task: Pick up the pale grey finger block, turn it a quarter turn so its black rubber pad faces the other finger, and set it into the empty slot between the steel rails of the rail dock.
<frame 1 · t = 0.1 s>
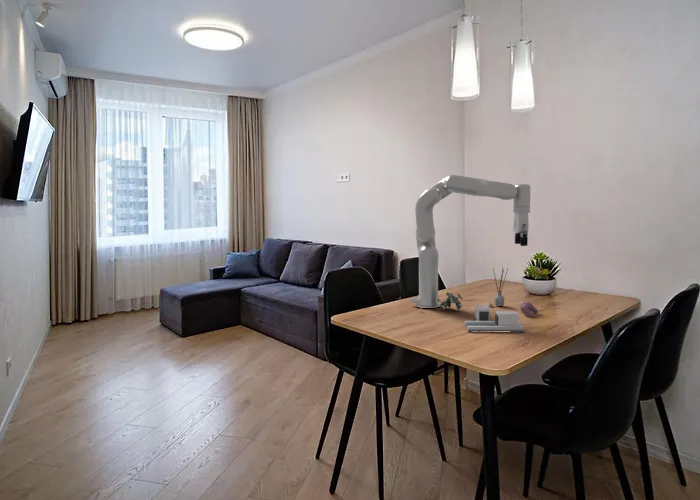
hand: (520, 244, 220), 31 cm above the table, tool pointing down, fingers open, 9 cm apart
reed diffuser: (499, 307, 224), on the table
rail dock: (493, 328, 187), on the table
video game controller: (528, 315, 208), on the table
finger block: (482, 320, 201), on the table
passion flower: (450, 311, 218), on the table
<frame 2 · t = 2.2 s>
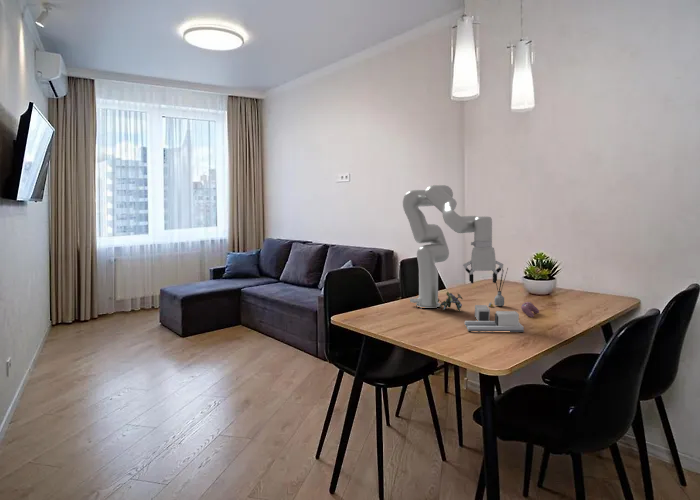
hand: (483, 282, 199), 17 cm above the table, tool pointing down, fingers open, 9 cm apart
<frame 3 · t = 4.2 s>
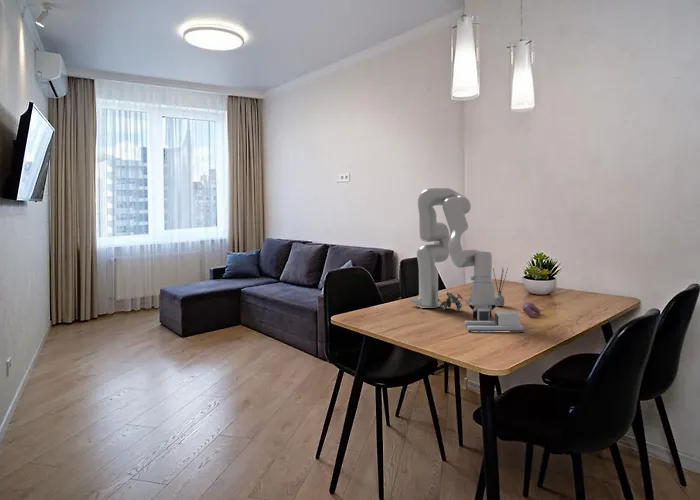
hand: (482, 318, 201), 0 cm above the table, tool pointing down, fingers closed on finger block, 5 cm apart
finger block: (482, 320, 201), on the table, touching gripper
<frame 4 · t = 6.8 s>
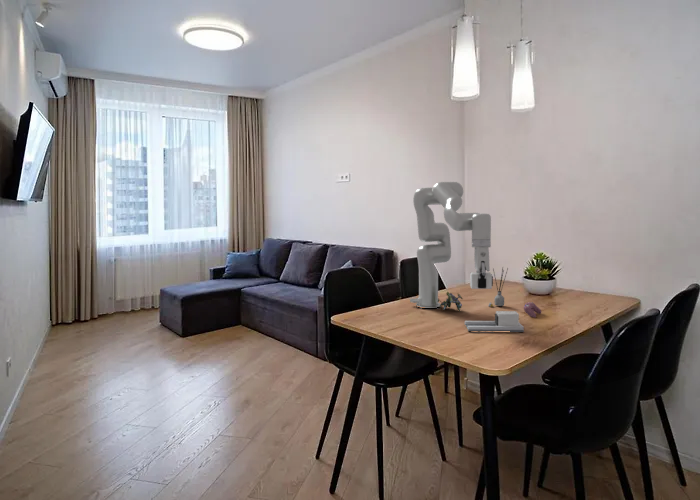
hand: (480, 286, 187), 18 cm above the table, tool pointing down, fingers closed on finger block, 5 cm apart
finger block: (480, 287, 187), point 17 cm above the table, touching gripper
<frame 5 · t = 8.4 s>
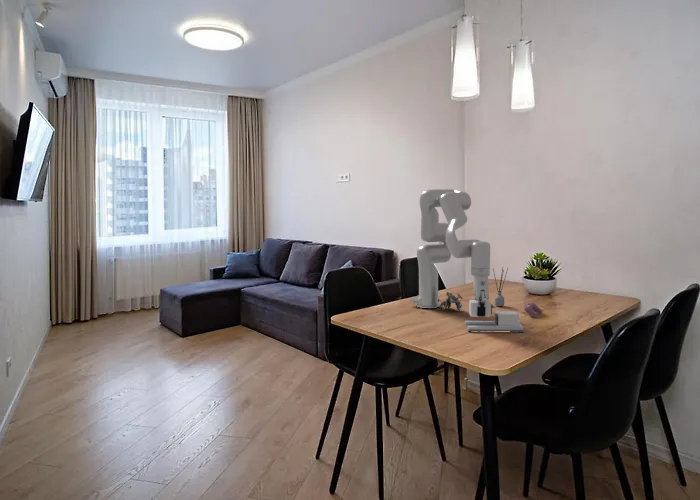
hand: (480, 314, 187), 6 cm above the table, tool pointing down, fingers closed on finger block, 5 cm apart
finger block: (479, 315, 187), point 6 cm above the table, touching gripper
when the fingers open (3 cm above the table, at t = 9.4 s): finger block drops 2 cm, resting on rail dock.
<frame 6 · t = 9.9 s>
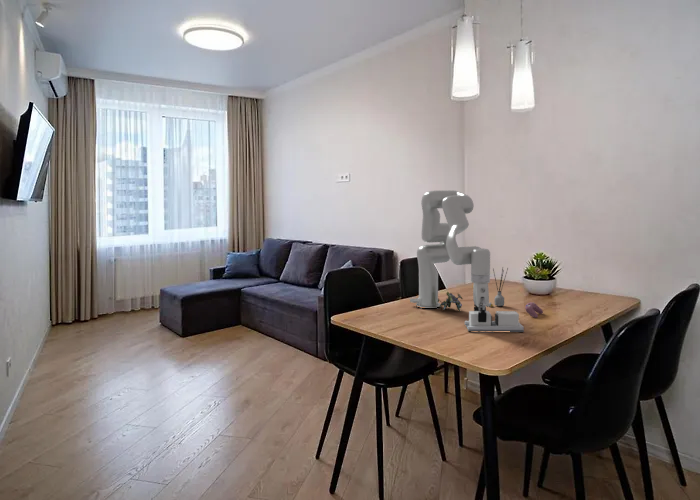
hand: (479, 318, 187), 4 cm above the table, tool pointing down, fingers open, 9 cm apart
finger block: (479, 326, 187), point 1 cm above the table, touching rail dock
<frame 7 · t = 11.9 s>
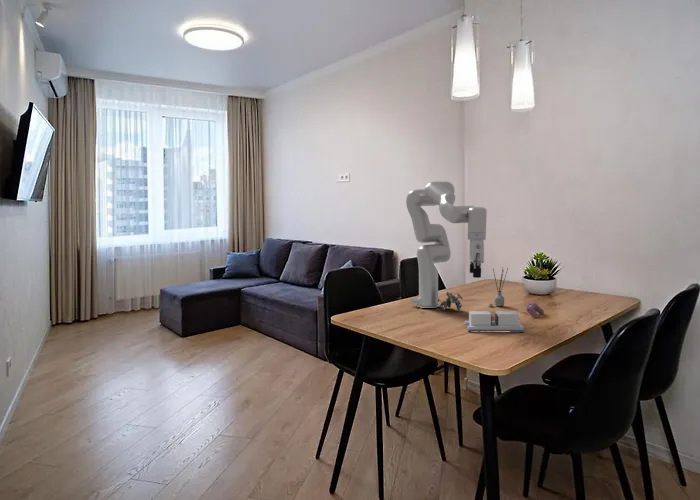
hand: (475, 275, 194), 21 cm above the table, tool pointing down, fingers open, 9 cm apart
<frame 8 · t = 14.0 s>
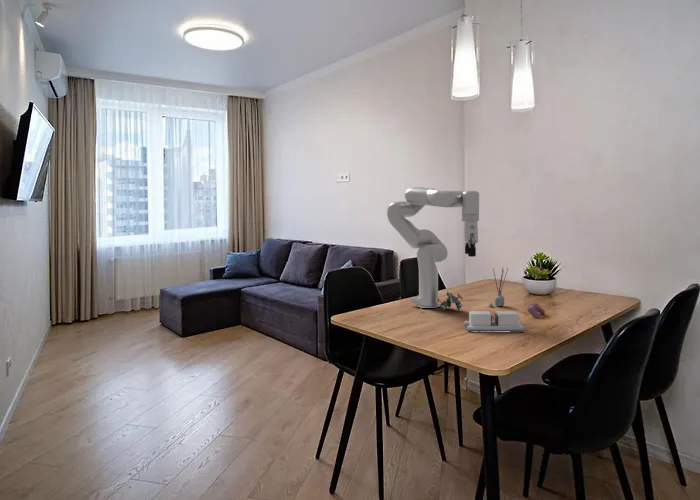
hand: (470, 255, 207), 28 cm above the table, tool pointing down, fingers open, 9 cm apart
at the end: finger block 0.1 cm from the target spot on the rail dock, point 1.0 cm above the rail dock's base; finger block tilted 0°; the gripper is holding nothing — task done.
